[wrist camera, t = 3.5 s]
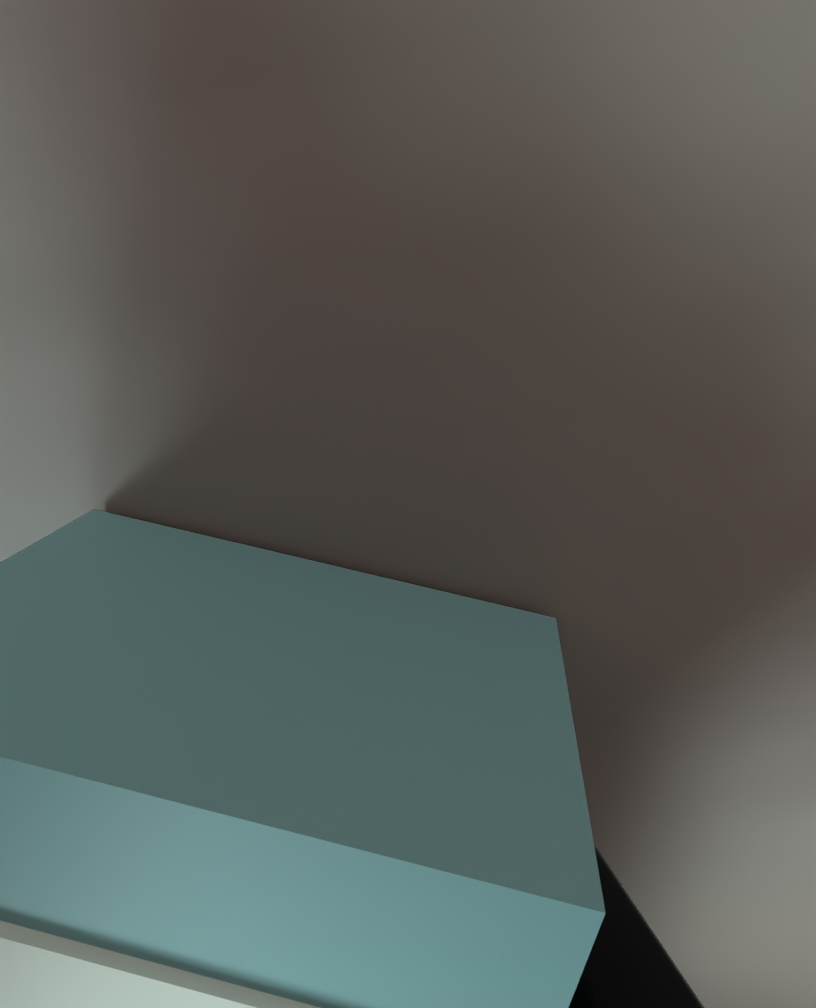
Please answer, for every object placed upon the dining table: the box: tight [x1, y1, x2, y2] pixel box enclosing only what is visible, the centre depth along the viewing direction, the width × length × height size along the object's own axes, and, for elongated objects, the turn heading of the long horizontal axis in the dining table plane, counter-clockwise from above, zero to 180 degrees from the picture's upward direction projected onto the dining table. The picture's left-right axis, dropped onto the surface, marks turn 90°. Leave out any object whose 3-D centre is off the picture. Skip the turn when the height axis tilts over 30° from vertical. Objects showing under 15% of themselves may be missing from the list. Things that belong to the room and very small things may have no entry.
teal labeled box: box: [0, 509, 606, 1008], centre depth 7 cm, size 8×5×4 cm, turn 169°
